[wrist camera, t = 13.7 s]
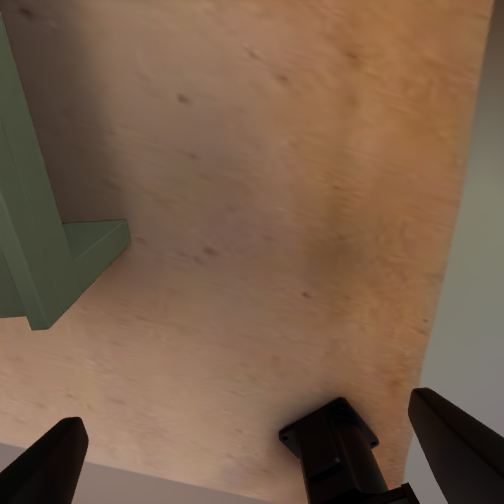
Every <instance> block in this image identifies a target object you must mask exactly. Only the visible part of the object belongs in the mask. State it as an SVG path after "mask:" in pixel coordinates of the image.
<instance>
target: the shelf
mask: <svg viewBox="0 0 504 504" xmlns="http://www.w3.org/2000/svg"><path fill="white" fill-rule="evenodd" d="M130 243H131V240H130V235H129V230H128V225H127V220H112V221H95V222H79V223H62V222H61V219H60V215H59V212H58V208H57V205H56V201H55V198H54V194H53V191H52V187H51V184H50V181H49V177H48V174H47V170H46V167H45V163H44V160H43V156H42V153H41V149H40V146H39V142H38V139H37V136H36V132H35V129H34V125H33V122H32V118H31V115H30V111H29V108H28V104H27V101H26V97H25V94H24V91H23V87H22V84H21V80H20V77H19V73H18V70H17V66H16V63H15V59H14V56H13V52H12V49H11V46H10V42H9V39H8V35H7V32H6V28H5V25H4V21H3V18H2V14H1V11H0V318H7V317H21V316H27V319H28V321H29V324H30V327H31V329H32V330H46V329H49V328H50V327H51V326H52V325H53V324H54V323H55V322H56V321H57V320H58V319H59V318H60V317H61V316H62V315H63V313H65V312H66V311H67V310H68V309H69V308H70V307H71V305H72V304H73V303H74V302H75V301H76V300H77V299H78V298H79V297H80V296H81V295H82V293H84V291H85V290H86V289H87V288H88V287H89V286H90V285H91V284H92V283H93V282H94V281H95V280H96V279H97V278H98V277H99V276H100V275H101V274H102V273H103V271H104V270H105V269H106V268H107V267H108V266H109V265H110V264H111V263H112V262H113V261H114V260H115V259H116V258H117V257H118V256H119V255H120V254H121V253H122V252H123V250H124V249H125V248H126V247H127V246H128V245H129V244H130Z"/></svg>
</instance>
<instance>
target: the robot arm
mask: <svg viewBox="0 0 504 504" xmlns="http://www.w3.org/2000/svg"><path fill="white" fill-rule="evenodd" d="M408 416H409V419H410V422H411V424H412V426H413V428H414V431H415V433H416V435H417V438H418V440H419V442H420V445H421V447H422V449H423V451H424V454H425V456H426V459H427V461H428V463H429V466H430V468H431V470H432V472H433V474H434V477H435V479H436V481H437V483H438V485H439V487H440V489H441V491H442V493H443V494H444V496H445V498H446V500H447V502H448V504H504V437H502V436H500V435H499V434H497V433H496V432H495V431H493V430H492V429H490V428H488V427H487V426H485V425H484V424H482V423H481V422H480V421H478V420H476V419H475V418H474V417H472V416H471V415H469V414H467V413H466V412H465V411H463V410H461V409H460V408H459V407H457V406H455V405H454V404H452V403H451V402H450V401H448V400H446V399H445V398H443V397H442V396H440V395H439V394H438V393H436V392H435V391H433V390H431V389H429V388H415V389H413V390H412V392H411V396H410V401H409V407H408ZM279 440H280V441H281V442H282V443H283V444H284V445H285V446H286V447H287V448H288V449H289V450H290V451H291V452H292V453H293V454H294V455H295V456H296V457H297V458H298V459H299V460H300V464H301V469H302V474H303V479H304V484H305V489H306V494H307V499H308V504H420V503H419V501H418V499H417V497H416V496H415V494H414V492H413V490H412V488H411V486H410V484H409V483H405V484H402V485H401V487H399V488H395V489H392V490H389V489H388V487H387V485H386V483H385V480H384V478H383V476H382V473H381V471H380V469H379V467H378V464H377V462H376V460H375V457H374V455H373V453H372V451H371V449H372V448H374V447H376V446H378V444H379V441H378V438H377V436H376V435H375V434H374V433H373V432H372V430H371V429H370V428H369V427H368V425H367V424H366V423H365V422H364V421H363V419H362V418H361V417H360V416H359V415H358V413H357V412H356V411H355V410H354V408H353V407H352V406H351V405H350V404H349V402H348V401H347V400H346V399H345V398H338V399H336V400H334V401H333V402H331V403H329V404H327V405H326V406H324V407H322V408H320V409H318V410H317V411H315V412H313V413H311V414H309V415H308V416H306V417H304V418H302V419H300V420H299V421H297V422H295V423H293V424H292V425H290V426H288V427H286V428H284V429H283V430H281V431H280V432H279ZM88 442H89V440H88V435H87V432H86V430H85V427H84V424H83V421H82V419H81V418H80V417H68V418H64V419H62V420H60V421H59V422H58V423H57V424H56V425H55V426H53V427H52V428H51V429H50V430H49V431H48V432H46V433H45V434H44V435H43V436H42V437H41V438H40V439H38V440H37V441H36V442H35V443H34V444H33V445H32V446H30V447H29V448H28V449H27V450H26V451H25V452H24V453H22V454H21V455H20V456H19V457H18V458H17V459H16V460H14V461H13V462H12V463H11V464H10V465H9V466H8V467H6V468H5V469H4V470H3V471H2V472H1V473H0V504H71V502H72V499H73V496H74V493H75V489H76V486H77V482H78V479H79V476H80V472H81V468H82V465H83V462H84V459H85V455H86V452H87V448H88Z"/></svg>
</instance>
